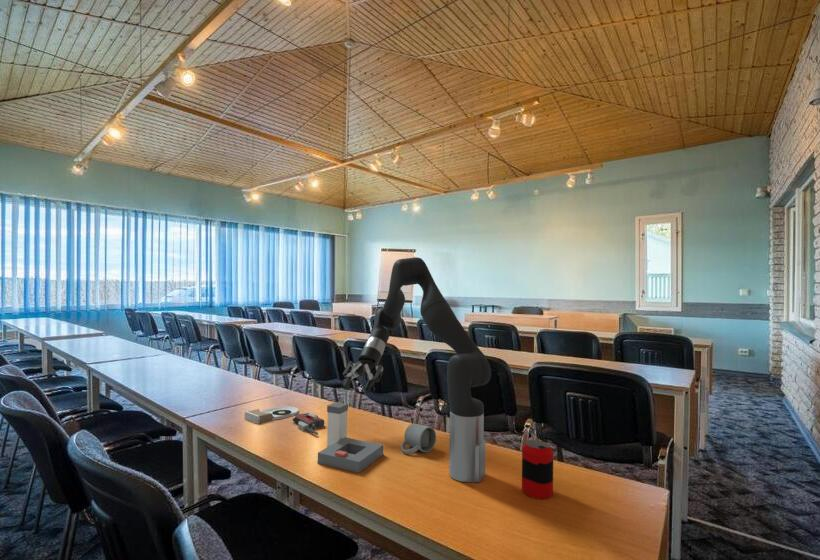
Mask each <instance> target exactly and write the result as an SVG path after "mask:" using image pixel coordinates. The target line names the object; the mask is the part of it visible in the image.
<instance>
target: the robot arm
mask: <svg viewBox="0 0 820 560" xmlns="http://www.w3.org/2000/svg"><path fill="white" fill-rule="evenodd" d="M390 274H391V275H390V279H389V285H388V293H387V296H386V299H385V301H384V304H383V307H380V308H378V309H377V310H376V312H375V314H374V322H373V327H372V330H371V332H370V335H369V336H368V339H367V340H366V342H365V344H364V345H363V348H362V350H361V352H360V354H359V356H358V359H357V362H356V363H355V362H354V363H353V361H349V362H348V364H347V365H346V367H345V368H344V371H343V372H342V375H343V377H344V378H345V379H344V382H343V384H342V385H343V386H342V387H343V388H344V390H348V389H349V387H350V385H351V382H352V380H353V379H356V378H358V377H366V378H367V377H368V380H367V381H366V384H365V385H364V391H365V393H369V392H370V391H371V389H372V388H373V385H374V384H375V383H377V384H378V383H380V381H381V378H382V376H383V373H384V367H383V365H382V364H379V363H380V361H381V359H382V356H383V355H384V351H385V348H386V347H387V343H388V342H389V339H390V331H395V330H397V329H398V328H399V327H400V325H401V323H402V322H401V321H402V314H401V313H402V310H403V309H404V305H405V302H406V297H405V293H404V291H403V290H402V289H401V288H402V287H403V286H411V285H412V286H413V285H418V286H420V288H421V290H422V298H421V302H420V308H419V309H420V311H419V312H420V315H421V317H422V320H423V322H424V323H425V325H426V327H427V328H428V330H429V331H430V332H431V334H433V336H435V337H436V338H437V339H439V340H440V341H442V342H443V343H444V344H446V345H447V346H449V347H450V348H451V349H452V350H453V351H454V352H455V353H456V354H454V355H452V356H451V357H450V358H449V360H448V363H447V366H446V380H447V381H446V382H447V399H448V404H449V459H448V460H449V463H448V464H449V466H448V467H449V476H450V477H451V478H452V479H454V480H456V481H458V482H464V483H480V482H481V481H482V480H483V478H484V477H485V475H486V439H485V438H484V429H485V428H484V427H485V426H484V424H485V423H484V420H485V419H484V417H485V416H484V415H485V413H484V412H485V411H484V410H485V407H484V403H483V401H481V400H480V399H479V398H478V399H477V398H475V397H472V391H471V388H474V387H475V388H476V387H481V386H485V385H487V384H489V382H490V380H491V379H492V378H491V377H492V370H491V369H492V368H491V365H490V363H489V361H488V358H487V356H485V354H484V353H483V352H482V350H481V349H480V348H479V346H477V344H476V343H475V341H473V339H472V338H471V337H470V335H469V334H468V333H467V331H466V330H465V328H464V326H463V325H462V324H461V322H460V321H459V319H458V318H457V316H456V314H455V312H454V311H453V309H452V308H451V306H450V304H449V303H448V302H447V300H446V299H445V297H444V296H443V294H442V292H441V290H440V289H439V287H438V286H437V284H436V282H435V280H434V278H433V276H432V273H431V272H430V269H429V268H428V265H427V263H425V261H424V259H422V258H421V257H418V256H415V257H406V258H400V259H397V260H395V262H394V263H393V265H392V269H391V273H390ZM388 330H389V331H388ZM375 371H376V372H375ZM374 372H375V374H373V373H374Z"/></svg>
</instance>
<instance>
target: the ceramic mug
mask: <svg viewBox="0 0 820 560" xmlns="http://www.w3.org/2000/svg"><path fill="white" fill-rule="evenodd" d="M403 438H404V441H403V442H402V443H401V446H400V449H401V452H402V453H403V454H405V455H412V454H414V453H416V452H417V451H419V452H422V453H429V452H431V451H432V450H433V449H434V447H435V445H436V442H437V433H436V430H435V428H433V427H431V426H427V425H423V424H420V423H412V424H409V425H408V426H407V428H406V429H405V432H404V437H403ZM407 445H408V446H409V447H410V448H409V449H405V447H406V446H407Z"/></svg>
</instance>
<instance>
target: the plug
mask: <svg viewBox="0 0 820 560" xmlns="http://www.w3.org/2000/svg"><path fill="white" fill-rule="evenodd" d="M326 406H327V407H326V412H327V426H326V427H327V429H326V430H327V431H326V434H327V435H326V438H327V439H326V447H329V446H331V445H332V444H334V443H336V442H338V441H339V440H341V439H343V438H345V437H346V438H348V411H349V404H348V403H345V402H343V403H342V402H337V401H335V402H333V403H331V404H328V405H326Z"/></svg>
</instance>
